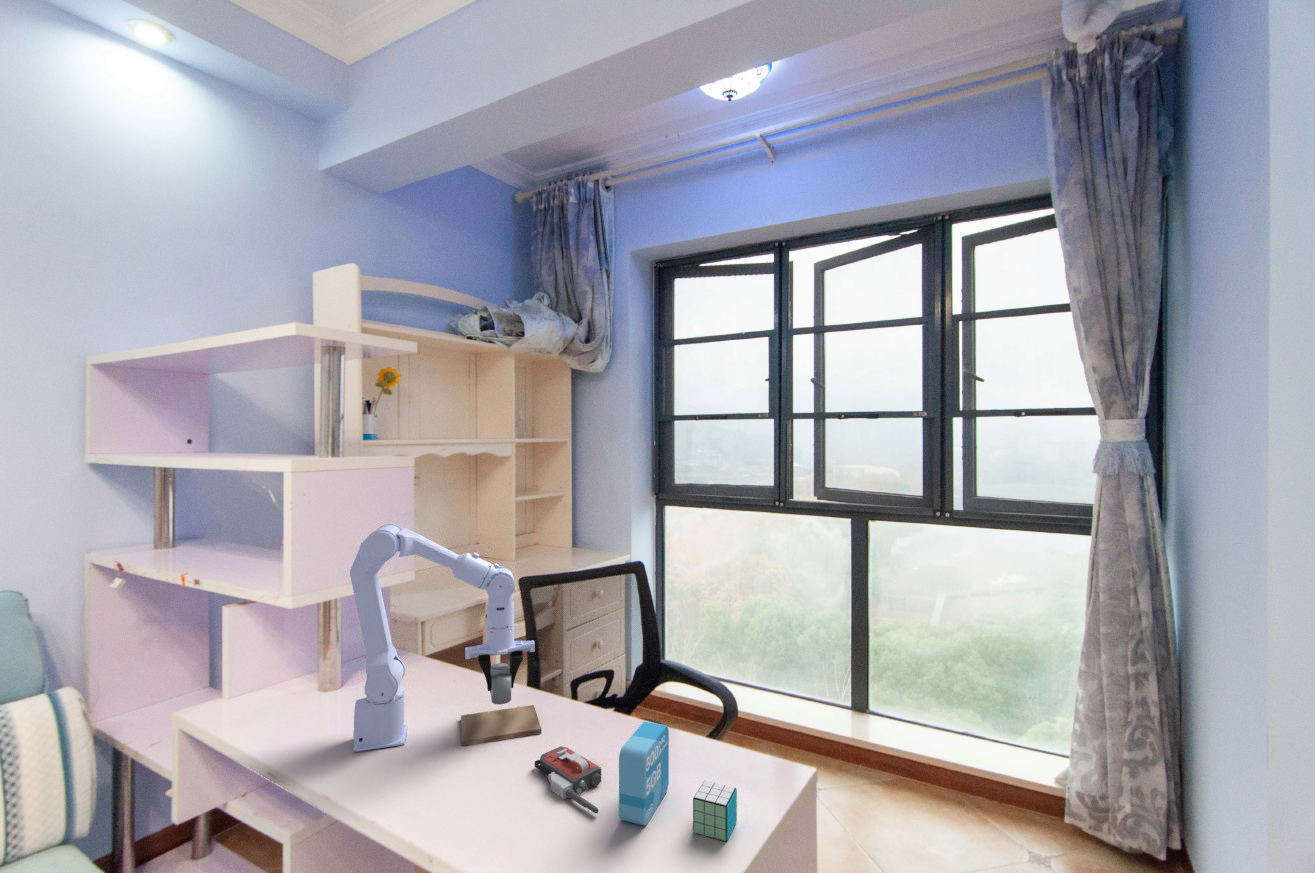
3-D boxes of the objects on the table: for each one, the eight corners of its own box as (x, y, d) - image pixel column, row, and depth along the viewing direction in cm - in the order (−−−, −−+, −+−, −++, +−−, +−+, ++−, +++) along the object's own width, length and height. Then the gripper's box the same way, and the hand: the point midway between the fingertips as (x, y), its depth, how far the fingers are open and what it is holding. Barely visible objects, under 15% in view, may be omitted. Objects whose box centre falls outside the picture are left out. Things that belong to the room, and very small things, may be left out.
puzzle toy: (727, 842, 93) (727, 806, 93) (692, 833, 96) (692, 797, 96) (737, 821, 98) (737, 786, 98) (704, 812, 101) (704, 778, 101)
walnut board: (462, 745, 122) (462, 740, 122) (460, 719, 134) (460, 715, 134) (541, 733, 128) (541, 728, 128) (533, 709, 139) (533, 704, 139)
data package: (644, 830, 96) (644, 755, 96) (618, 823, 98) (618, 749, 98) (669, 789, 107) (669, 722, 107) (645, 784, 109) (645, 717, 109)
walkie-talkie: (524, 774, 113) (592, 822, 99) (524, 750, 113) (592, 795, 99) (562, 757, 119) (631, 800, 105) (562, 734, 119) (631, 774, 105)
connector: (492, 705, 125) (492, 681, 125) (488, 681, 137) (488, 659, 137) (512, 702, 126) (512, 678, 126) (506, 679, 139) (506, 657, 139)
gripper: (465, 634, 125) (465, 699, 124) (536, 627, 129) (536, 690, 129) (465, 624, 131) (464, 686, 131) (532, 617, 136) (532, 677, 136)
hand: (500, 687), depth 131 cm, fingers closed on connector, 4 cm apart
